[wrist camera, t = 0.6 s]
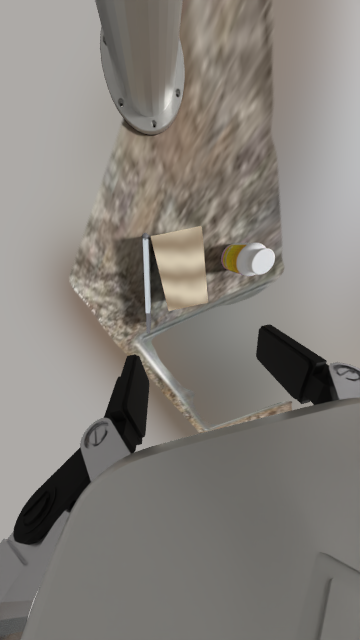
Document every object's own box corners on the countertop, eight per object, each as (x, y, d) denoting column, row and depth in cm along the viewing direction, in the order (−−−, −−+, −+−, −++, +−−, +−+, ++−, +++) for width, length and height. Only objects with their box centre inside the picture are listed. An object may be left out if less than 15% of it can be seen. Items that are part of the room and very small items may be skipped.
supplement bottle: (220, 271, 39) (245, 282, 28) (220, 245, 36) (248, 245, 24) (242, 267, 39) (276, 276, 28) (244, 241, 36) (283, 239, 25)
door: (145, 234, 32) (142, 232, 26) (150, 235, 32) (148, 233, 26) (147, 321, 42) (146, 333, 37) (151, 321, 42) (150, 333, 37)
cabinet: (152, 238, 33) (150, 236, 26) (192, 230, 33) (201, 225, 26) (167, 299, 41) (168, 311, 34) (199, 292, 41) (208, 302, 34)
